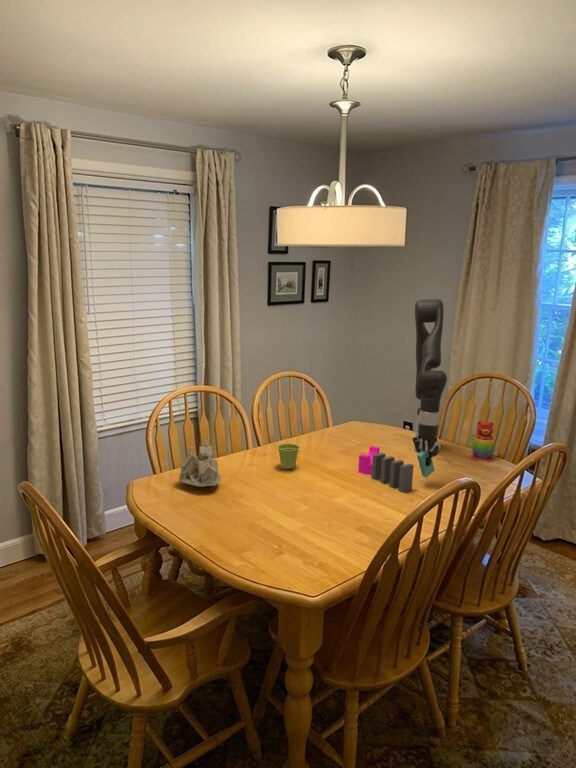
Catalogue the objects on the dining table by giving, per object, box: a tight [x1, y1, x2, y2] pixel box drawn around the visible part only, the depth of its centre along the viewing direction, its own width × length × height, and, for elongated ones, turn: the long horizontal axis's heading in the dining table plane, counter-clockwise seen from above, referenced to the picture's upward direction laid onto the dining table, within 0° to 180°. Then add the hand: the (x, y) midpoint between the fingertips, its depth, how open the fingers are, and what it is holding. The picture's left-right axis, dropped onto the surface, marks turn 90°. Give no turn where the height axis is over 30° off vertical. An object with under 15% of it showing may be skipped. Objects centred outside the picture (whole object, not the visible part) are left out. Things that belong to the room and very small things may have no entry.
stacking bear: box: [469, 421, 496, 463], centre depth 247 cm, size 11×10×18 cm
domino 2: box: [379, 455, 396, 485], centre depth 220 cm, size 2×5×10 cm, turn 124°
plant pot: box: [276, 443, 300, 470], centre depth 234 cm, size 9×9×9 cm
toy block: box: [357, 445, 381, 476], centre depth 235 cm, size 15×6×8 cm, turn 153°
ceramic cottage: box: [178, 439, 222, 488], centre depth 215 cm, size 16×16×15 cm
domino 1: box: [371, 452, 387, 481], centre depth 224 cm, size 2×5×10 cm, turn 123°
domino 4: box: [398, 463, 415, 493], centre depth 212 cm, size 2×5×10 cm, turn 124°
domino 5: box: [416, 449, 435, 478], centre depth 217 cm, size 2×5×10 cm, turn 124°
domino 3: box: [388, 459, 405, 489], centre depth 216 cm, size 2×5×10 cm, turn 124°
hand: (425, 465), depth 217 cm, fingers closed on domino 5
